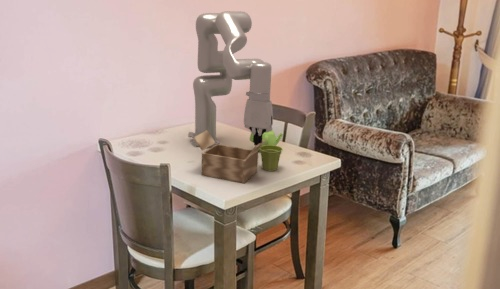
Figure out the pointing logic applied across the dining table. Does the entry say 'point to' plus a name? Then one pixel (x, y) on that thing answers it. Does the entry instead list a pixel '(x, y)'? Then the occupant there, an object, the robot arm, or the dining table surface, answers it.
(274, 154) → the plant pot
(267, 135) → the teapot
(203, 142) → the flap
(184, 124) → the dining table surface
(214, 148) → the carton
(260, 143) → the flap
